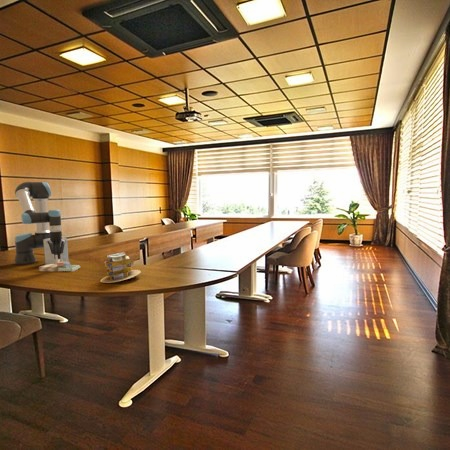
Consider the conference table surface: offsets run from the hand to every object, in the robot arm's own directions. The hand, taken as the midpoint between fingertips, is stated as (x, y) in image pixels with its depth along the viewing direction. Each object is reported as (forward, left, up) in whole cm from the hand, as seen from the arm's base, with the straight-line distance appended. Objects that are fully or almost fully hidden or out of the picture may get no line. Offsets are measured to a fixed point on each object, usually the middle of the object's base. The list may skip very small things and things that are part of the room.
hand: (57, 263), depth 222 cm
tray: (+8, 0, -5) cm, 9 cm away
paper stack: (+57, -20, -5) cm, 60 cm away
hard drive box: (-15, +19, -5) cm, 25 cm away
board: (-5, 0, -5) cm, 6 cm away
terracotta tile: (+3, 0, -2) cm, 3 cm away
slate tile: (+5, 0, -2) cm, 5 cm away
